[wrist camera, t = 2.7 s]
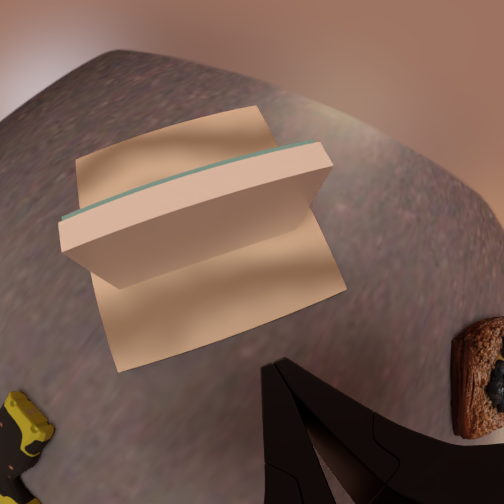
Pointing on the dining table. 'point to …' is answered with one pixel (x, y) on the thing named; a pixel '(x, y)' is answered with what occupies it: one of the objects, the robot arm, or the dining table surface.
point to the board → (209, 271)
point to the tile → (195, 214)
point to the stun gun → (20, 445)
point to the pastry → (478, 379)
